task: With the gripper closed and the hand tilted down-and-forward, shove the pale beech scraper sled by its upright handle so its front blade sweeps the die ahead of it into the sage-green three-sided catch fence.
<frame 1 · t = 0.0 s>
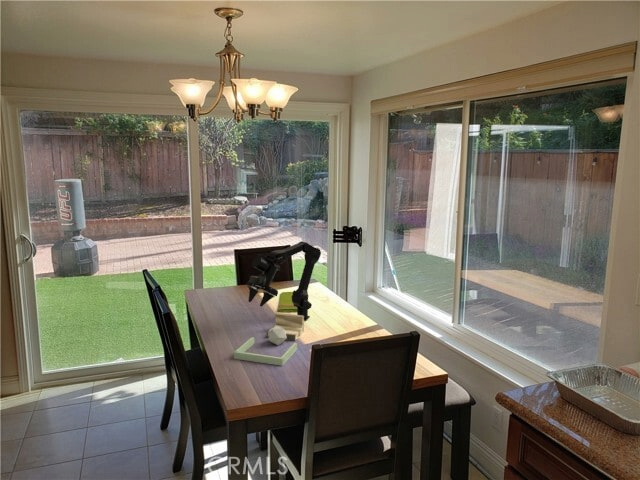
hand: (254, 304, 230), 15 cm above the table, tool tilted 35°, fingers open, 9 cm apart
catch fence: (266, 353, 210), on the table
scraper sled: (286, 334, 232), on the table
dish towel: (292, 303, 282), on the table
die: (277, 343, 221), on the table
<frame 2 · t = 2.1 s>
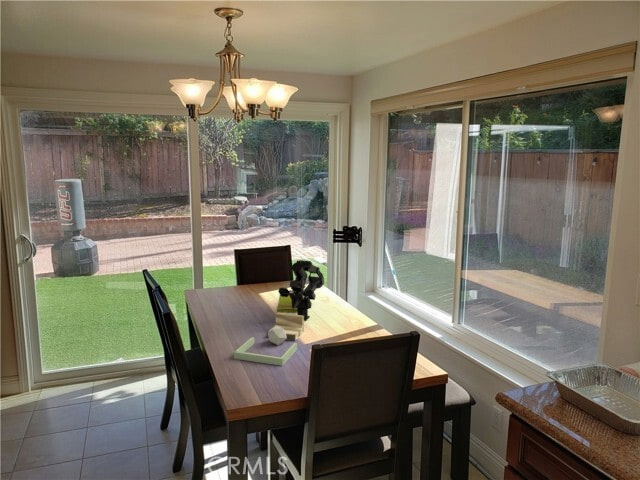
hand: (293, 308, 239), 10 cm above the table, tool tilted 45°, fingers closed
nothing on the table moved.
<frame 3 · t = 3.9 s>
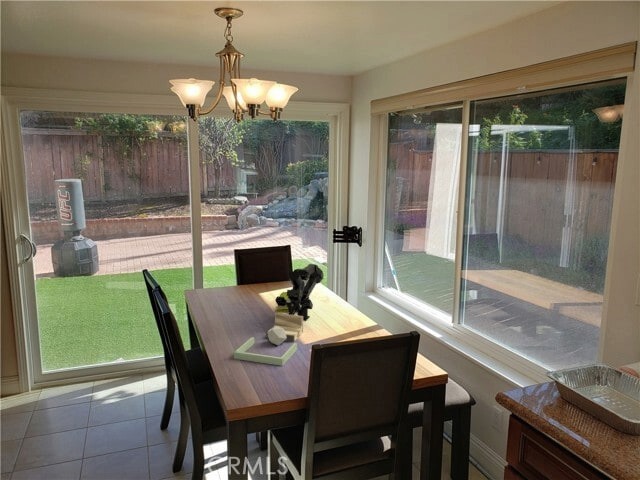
hand: (290, 317, 236), 7 cm above the table, tool tilted 45°, fingers closed, pressing on scraper sled
scraper sled: (285, 335, 231), on the table, touching die, gripper
die: (277, 343, 221), on the table, touching scraper sled
everything else where it was.
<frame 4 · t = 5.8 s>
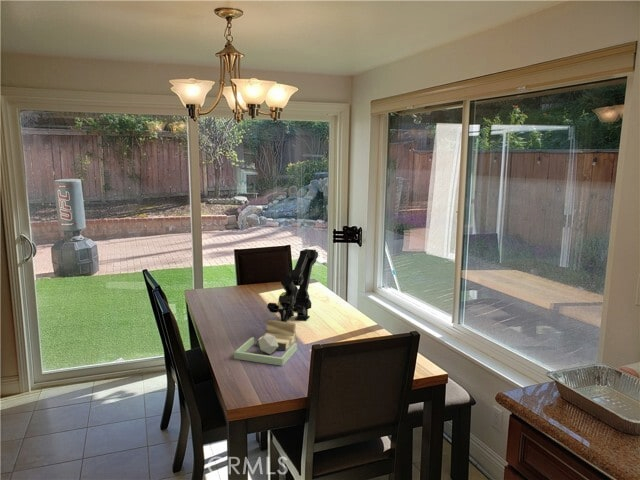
hand: (282, 325, 226), 7 cm above the table, tool tilted 45°, fingers closed, pressing on scraper sled
scraper sled: (277, 342, 221), on the table, touching die, gripper
die: (268, 352, 211), on the table, touching scraper sled
everything else where it was.
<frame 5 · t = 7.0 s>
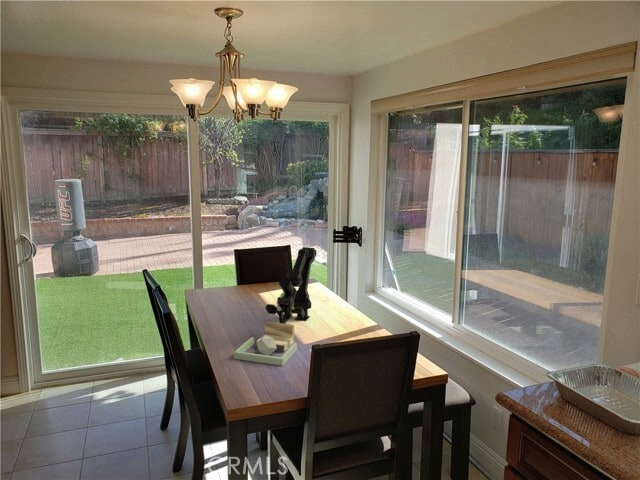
hand: (280, 326, 224), 6 cm above the table, tool tilted 45°, fingers closed
scraper sled: (275, 344, 219), on the table, touching gripper
die: (266, 354, 209), on the table
everything else where it was.
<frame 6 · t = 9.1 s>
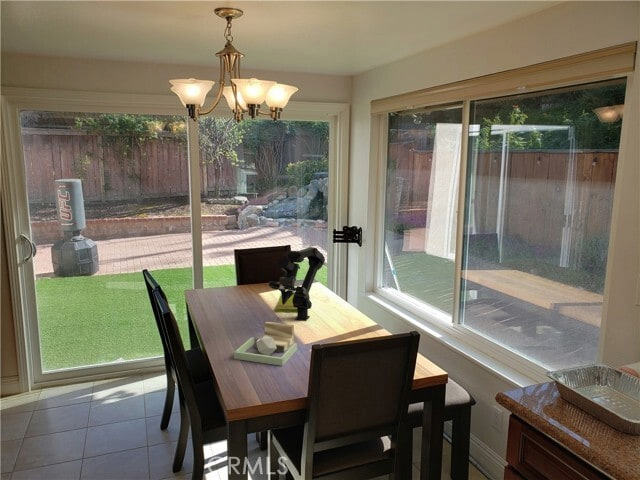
hand: (283, 304, 234), 14 cm above the table, tool tilted 30°, fingers closed
scraper sled: (275, 345, 219), on the table
everything else where it was.
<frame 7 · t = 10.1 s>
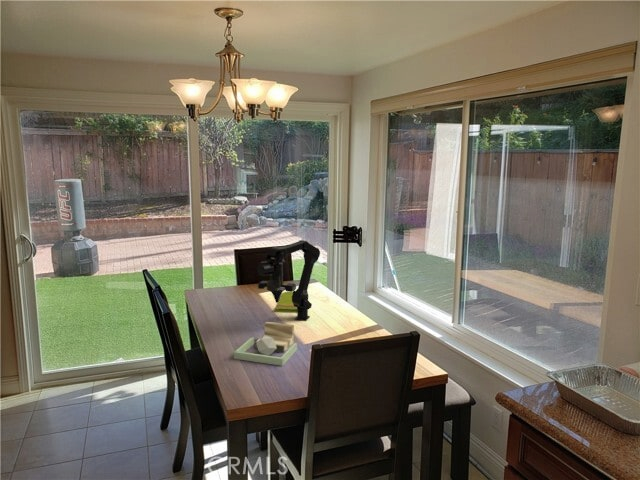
hand: (277, 302, 240), 13 cm above the table, tool pointing down, fingers closed
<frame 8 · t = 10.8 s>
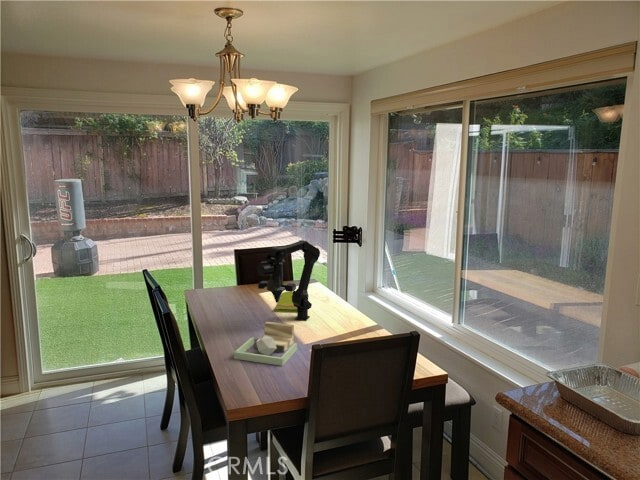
hand: (277, 302, 240), 13 cm above the table, tool pointing down, fingers closed
nothing on the table moved.
at the end: die inside the target area (0.3 cm from its centre), on the table; die moved 12.7 cm from its start; scraper sled moved 13.7 cm from its start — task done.
